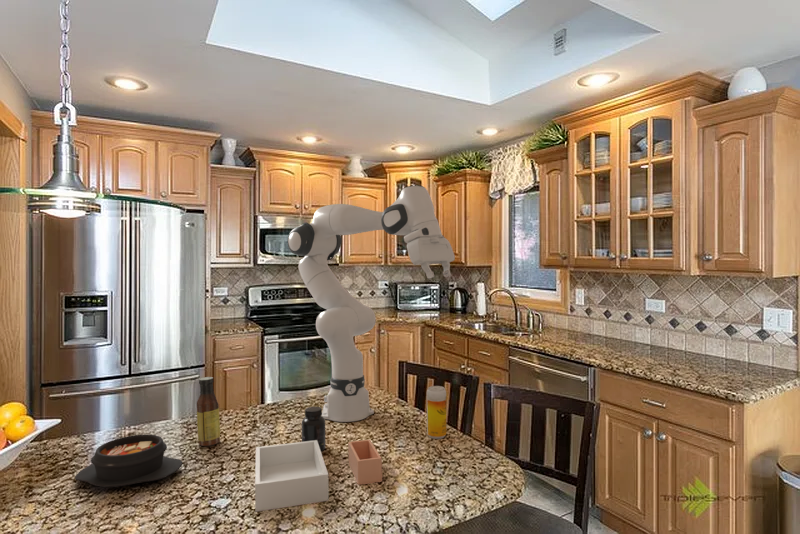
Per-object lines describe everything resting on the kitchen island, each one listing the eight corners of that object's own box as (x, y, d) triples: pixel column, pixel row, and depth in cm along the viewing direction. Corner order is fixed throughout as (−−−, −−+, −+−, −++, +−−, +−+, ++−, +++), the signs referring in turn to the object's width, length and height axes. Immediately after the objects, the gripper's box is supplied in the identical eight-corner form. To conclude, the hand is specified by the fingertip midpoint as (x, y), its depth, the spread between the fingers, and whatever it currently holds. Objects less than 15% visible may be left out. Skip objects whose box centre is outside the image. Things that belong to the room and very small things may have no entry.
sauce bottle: (223, 439, 146) (223, 375, 146) (214, 447, 140) (213, 380, 140) (203, 439, 147) (202, 375, 147) (193, 446, 141) (192, 380, 140)
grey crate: (256, 469, 124) (255, 447, 124) (317, 461, 129) (317, 440, 129) (255, 511, 103) (255, 484, 103) (328, 500, 108) (328, 474, 108)
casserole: (55, 494, 112) (55, 459, 112) (105, 461, 131) (105, 431, 131) (159, 494, 112) (159, 459, 112) (195, 461, 130) (194, 431, 130)
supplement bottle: (296, 451, 136) (296, 410, 136) (311, 443, 142) (311, 404, 142) (315, 456, 133) (315, 413, 133) (330, 447, 139) (329, 407, 139)
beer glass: (447, 439, 144) (446, 390, 144) (427, 439, 144) (426, 390, 144) (445, 432, 150) (445, 385, 150) (426, 432, 150) (426, 385, 150)
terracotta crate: (348, 464, 128) (348, 442, 128) (370, 461, 130) (369, 439, 129) (358, 485, 115) (357, 461, 115) (381, 482, 117) (381, 458, 117)
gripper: (436, 238, 156) (448, 278, 154) (399, 237, 139) (412, 282, 137) (452, 231, 152) (464, 272, 150) (416, 229, 136) (429, 275, 134)
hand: (439, 277), depth 143 cm, fingers open, 8 cm apart
